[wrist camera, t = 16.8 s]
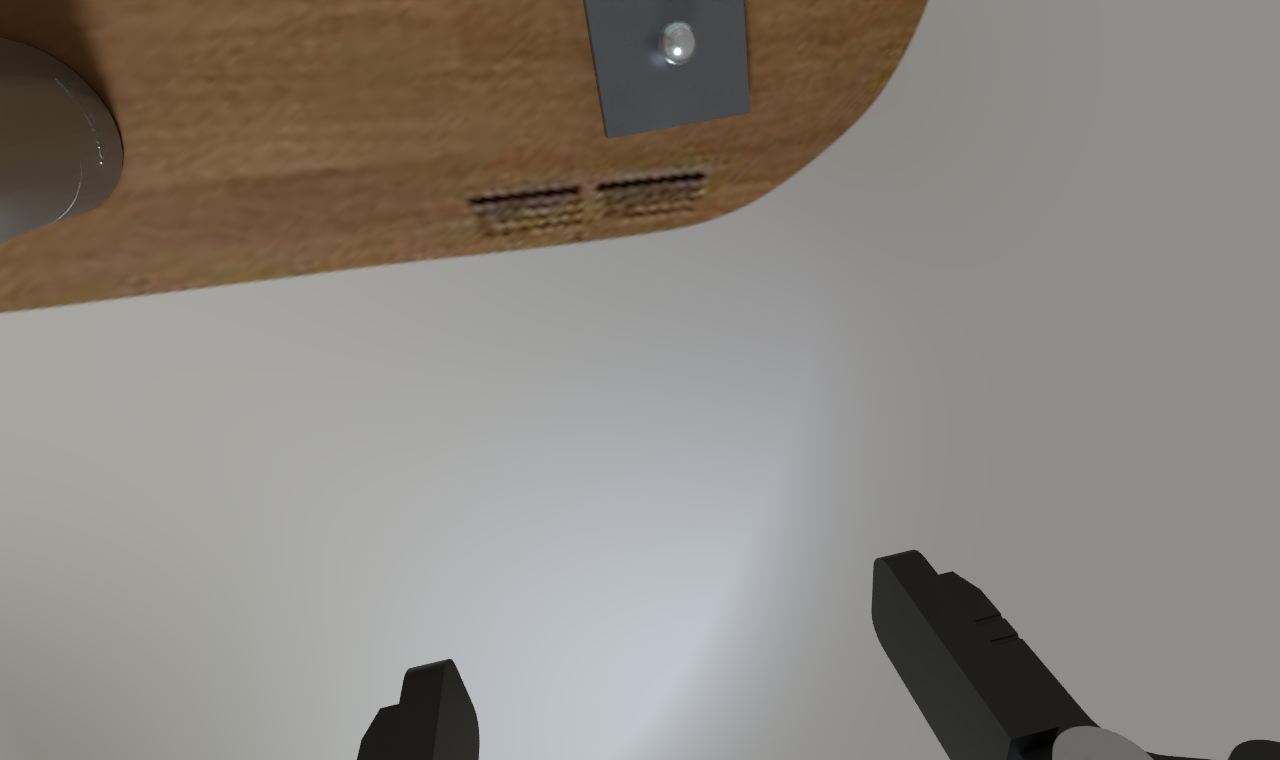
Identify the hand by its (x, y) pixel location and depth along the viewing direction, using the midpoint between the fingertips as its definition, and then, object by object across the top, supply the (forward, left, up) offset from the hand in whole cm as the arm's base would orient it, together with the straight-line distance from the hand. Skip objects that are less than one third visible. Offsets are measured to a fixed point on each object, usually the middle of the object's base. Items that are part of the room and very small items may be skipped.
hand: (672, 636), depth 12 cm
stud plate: (+8, +9, -34) cm, 36 cm away
